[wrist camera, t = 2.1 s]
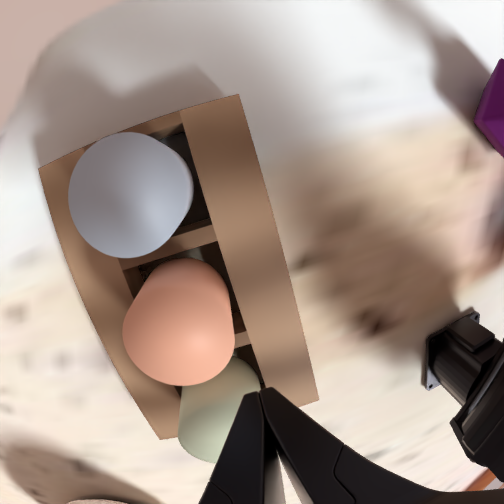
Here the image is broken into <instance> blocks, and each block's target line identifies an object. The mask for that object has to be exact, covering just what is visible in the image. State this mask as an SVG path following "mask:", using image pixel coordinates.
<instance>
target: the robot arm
mask: <svg viewBox="0 0 504 504" xmlns="http://www.w3.org/2000/svg"><path fill="white" fill-rule="evenodd" d="M479 318H480V314H479V313H478V312H476V311H474V312H472V313H471V314H469V315H467V316H465V317H463V318H462V319H460V320H458V321H456V322H454V323H452V324H451V325H449V326H447V327H445V328H443V329H441V330H439V331H437V332H435V333H433V334H431V335H430V336H428V338H427V340H426V369H425V388H426V389H427V390H428V391H429V390H431V389H433V388H435V387H437V386H439V385H440V384H441V385H442V386H443V387H444V388H445V389H446V390H447V391H448V392H449V393H450V394H451V395H452V396H453V397H454V398H455V399H456V400H457V401H458V402H459V404H460V405H461V406H462V408H461V409H460V411H459V412H458V413H457V415H456V416H455V417H453V419H452V420H451V421H450V425H451V426H452V428H453V431H454V433H455V435H456V437H457V439H458V440H459V442H460V444H461V446H462V448H463V450H464V452H465V454H466V456H467V457H468V458H469V459H470V461H471V462H475V463H477V464H479V465H481V466H483V467H488V468H489V469H490V470H491V471H492V472H493V474H494V475H495V476H496V477H497V478H498V479H499V480H500V481H501V482H504V338H503V342H501V341H499V340H498V339H496V338H495V334H493V333H492V332H491V331H489V330H488V329H486V328H485V327H483V326H481V325H480V324H479ZM277 452H278V453H277ZM278 455H279V457H278ZM279 458H280V460H281V462H282V465H283V467H284V469H285V471H286V473H287V475H288V477H289V479H290V481H291V483H292V485H293V487H294V489H295V491H296V493H297V495H298V497H299V499H300V501H301V503H302V504H504V488H503V489H494V490H482V491H466V492H442V491H437V490H432V489H429V488H426V487H424V486H421V485H419V484H417V483H414V482H412V481H410V480H408V479H405V478H403V477H401V476H399V475H397V474H395V473H392V472H390V471H388V470H386V469H384V468H382V467H380V466H378V465H377V464H375V463H373V462H371V461H369V460H368V459H366V458H365V457H363V456H362V455H360V454H359V453H357V452H356V451H354V450H353V449H351V448H350V447H349V446H347V445H344V443H343V442H342V441H340V440H339V439H338V438H336V437H335V436H334V435H332V434H331V433H330V432H329V431H327V430H326V429H325V428H323V427H322V426H321V425H319V424H318V423H317V422H316V421H314V420H313V419H312V418H311V417H309V416H308V415H307V414H306V413H304V412H303V411H302V410H301V409H299V408H298V407H297V406H296V405H294V404H293V403H292V402H291V401H290V400H288V399H287V398H286V397H285V396H283V395H282V394H281V393H280V392H279V391H278V390H276V389H275V388H274V387H268V388H264V389H261V390H259V392H258V391H254V392H250V393H246V394H244V395H243V398H242V400H241V403H240V406H239V408H238V411H237V413H236V416H235V418H234V421H233V423H232V426H231V428H230V431H229V433H228V436H227V438H226V441H225V443H224V446H223V448H222V451H221V453H220V455H219V458H218V460H217V463H216V465H215V467H214V470H213V472H212V475H211V477H210V479H209V481H210V482H208V484H207V486H206V488H205V491H204V493H203V495H202V497H201V499H200V501H199V503H198V504H286V501H285V494H284V488H283V481H282V474H281V467H280V461H279Z"/></svg>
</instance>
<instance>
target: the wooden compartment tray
mask: <svg viewBox="0 0 504 504" xmlns="http://www.w3.org/2000/svg"><path fill="white" fill-rule="evenodd" d="M184 131H185V133H186V137H187V140H188V144H189V147H190V151H191V154H192V157H193V161H194V164H195V168H196V171H197V174H198V178H199V181H200V185H201V188H202V191H203V195H204V198H205V201H206V204H207V208H208V211H209V214H210V218H208V219H205V220H202V221H199V222H196V223H192V224H189V225H186V226H183V227H180V228H177V229H176V230H175V232H174V233H173V234H172V236H171V237H170V238H169V239H168V240H167V241H166V242H165V243H164V244H163V245H162V246H160V247H159V248H158V249H156V250H154V251H152V252H151V253H148V254H146V255H143V256H139V257H133V258H119V257H113V256H110V255H107V254H104V253H102V252H100V251H98V250H97V249H95V248H94V247H92V246H91V245H90V244H89V243H88V242H87V241H86V240H85V239H84V238H83V237H82V236H81V234H80V233H79V231H78V230H77V228H76V226H75V224H74V222H73V219H72V217H71V213H70V209H69V202H68V191H69V183H70V179H71V176H72V173H73V170H74V168H75V166H76V164H77V162H78V161H79V159H80V158H81V156H82V155H83V154H84V153H85V152H86V150H87V149H88V148H90V147H91V146H92V145H93V144H94V143H96V142H97V141H96V142H94V143H91V144H89V145H87V146H85V147H82V148H80V149H78V150H76V151H74V152H72V153H69V154H67V155H65V156H63V157H61V158H59V159H57V160H55V161H53V162H51V163H49V164H47V165H45V166H43V167H41V168H39V169H38V170H39V174H40V178H41V182H42V186H43V189H44V193H45V197H46V200H47V204H48V207H49V210H50V214H51V217H52V220H53V223H54V226H55V229H56V232H57V235H58V238H59V241H60V244H61V247H62V250H63V253H64V255H65V258H66V261H67V263H68V266H69V268H70V271H71V274H72V276H73V279H74V281H75V284H76V286H77V288H78V291H79V293H80V295H81V298H82V300H83V302H84V305H85V307H86V309H87V311H88V314H89V316H90V318H91V320H92V322H93V324H94V326H95V329H96V331H97V333H98V335H99V337H100V339H101V341H102V343H103V345H104V347H105V349H106V351H107V353H108V354H109V356H110V358H111V360H112V362H113V364H114V366H115V368H116V369H117V371H118V373H119V375H120V377H121V378H122V380H123V382H124V384H125V385H126V387H127V389H128V390H129V392H130V394H131V396H132V397H133V399H134V400H135V402H136V404H137V405H138V407H139V409H140V410H141V412H142V413H143V415H144V417H145V418H146V420H147V421H148V423H149V424H150V426H151V427H152V429H153V430H154V432H155V433H156V435H157V436H158V438H159V439H160V440H163V439H169V438H175V437H178V424H179V414H180V404H181V395H182V386H177V385H170V384H166V383H163V382H160V381H157V380H155V379H153V378H151V377H150V376H148V375H146V374H145V373H144V372H142V371H141V370H140V369H139V368H138V367H137V366H136V365H135V364H134V363H133V361H132V360H131V358H130V357H129V355H128V353H127V351H126V349H125V346H124V342H123V336H122V328H123V322H124V319H125V316H126V314H127V312H128V310H129V308H130V306H131V305H132V303H133V301H134V300H135V298H136V296H137V295H138V293H139V291H140V290H141V288H142V286H143V285H144V281H143V278H142V276H141V273H140V270H139V268H138V265H141V264H144V263H147V262H151V261H154V260H157V259H160V258H163V257H166V256H170V255H173V254H176V253H179V252H182V251H186V250H189V249H192V248H195V247H199V246H202V245H205V244H208V243H212V242H215V241H218V243H219V247H220V250H221V253H222V256H223V259H224V262H225V265H226V269H227V272H228V275H229V278H230V281H231V284H232V287H233V290H234V293H235V296H236V300H237V303H238V306H239V309H240V311H239V312H235V313H232V321H233V329H234V336H235V345H234V348H237V347H241V346H244V345H247V344H251V345H252V348H253V351H254V353H255V356H256V359H257V362H258V365H259V368H260V371H261V374H262V377H263V380H264V382H265V383H264V384H261V385H260V388H261V389H264V388H268V387H274V388H275V389H276V390H278V391H279V392H280V393H281V394H282V395H283V396H285V397H286V398H287V399H288V400H290V401H291V402H292V403H293V404H294V405H296V406H297V407H300V406H303V405H306V404H309V403H312V402H315V401H318V400H319V396H318V392H317V388H316V383H315V379H314V375H313V370H312V366H311V362H310V357H309V353H308V349H307V345H306V341H305V337H304V332H303V328H302V324H301V320H300V316H299V312H298V308H297V304H296V300H295V296H294V292H293V288H292V284H291V280H290V276H289V272H288V269H287V265H286V261H285V257H284V253H283V249H282V246H281V242H280V238H279V234H278V231H277V227H276V223H275V219H274V216H273V212H272V208H271V205H270V201H269V197H268V194H267V190H266V187H265V183H264V179H263V176H262V172H261V169H260V165H259V162H258V158H257V155H256V151H255V148H254V144H253V141H252V137H251V134H250V130H249V127H248V124H247V120H246V117H245V114H244V110H243V107H242V103H241V100H240V97H239V94H237V95H233V96H229V97H225V98H221V99H217V100H214V101H210V102H206V103H203V104H199V105H196V106H193V107H189V108H186V109H183V110H180V111H177V112H173V113H170V114H167V115H164V116H161V117H158V118H156V119H153V120H150V121H147V122H144V123H141V124H139V125H136V126H133V127H131V128H128V129H126V130H123V131H120V132H118V133H122V132H134V133H140V134H144V135H147V136H150V137H152V138H154V139H156V140H160V139H163V138H166V137H169V136H172V135H175V134H178V133H181V132H184ZM115 134H116V133H115ZM98 141H99V140H98Z"/></svg>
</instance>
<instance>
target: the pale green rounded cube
mask: <svg viewBox="0 0 504 504" xmlns="http://www.w3.org/2000/svg"><path fill="white" fill-rule="evenodd" d="M259 390H261V388H260V383H259V379H258V376H257V373H256V372H255V370H254V369H253V368H252V366H251V365H249V364H248V363H247V362H245V361H244V360H242V359H240V358H237V357H234V356H232V357H231V359H230V361H229V363H228V364H227V365H226V367H225V368H224V369H223V370H222V371H221V372H220V373H219V374H218V375H216V376H215V377H213V378H212V379H210V380H208V381H205V382H203V383H199V384H195V385H189V386H182V395H181V404H180V414H179V424H178V439H179V442H180V444H181V446H182V447H183V448H184V449H185V450H186V451H187V452H188V453H189V454H191V455H192V456H194V457H196V458H198V459H200V460H203V461H206V462H210V463H217V460H218V458H219V455H220V453H221V451H222V448H223V446H224V443H225V441H226V438H227V436H228V433H229V431H230V428H231V426H232V423H233V421H234V418H235V416H236V413H237V411H238V408H239V406H240V403H241V400H242V398H243V395H244V394H246V393H250V392H254V391H258V392H259Z"/></svg>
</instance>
